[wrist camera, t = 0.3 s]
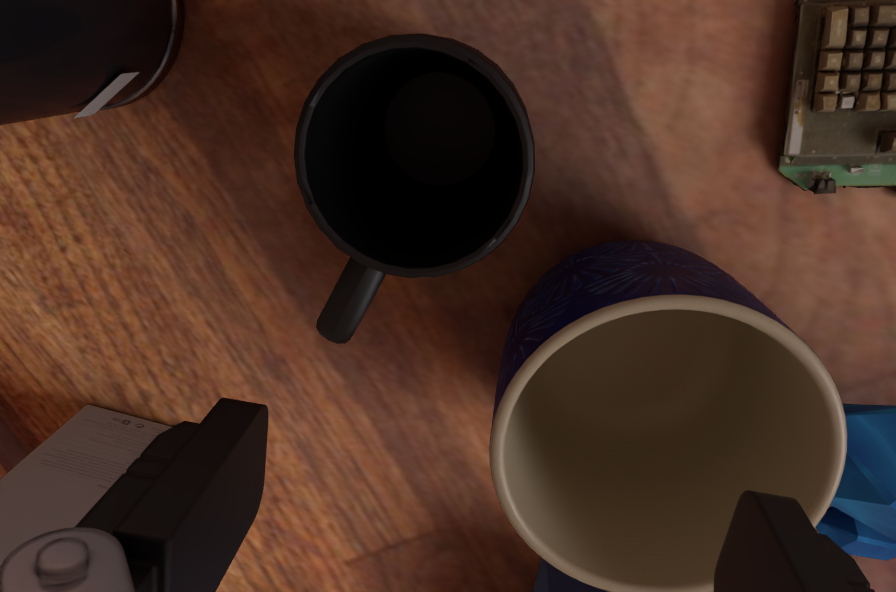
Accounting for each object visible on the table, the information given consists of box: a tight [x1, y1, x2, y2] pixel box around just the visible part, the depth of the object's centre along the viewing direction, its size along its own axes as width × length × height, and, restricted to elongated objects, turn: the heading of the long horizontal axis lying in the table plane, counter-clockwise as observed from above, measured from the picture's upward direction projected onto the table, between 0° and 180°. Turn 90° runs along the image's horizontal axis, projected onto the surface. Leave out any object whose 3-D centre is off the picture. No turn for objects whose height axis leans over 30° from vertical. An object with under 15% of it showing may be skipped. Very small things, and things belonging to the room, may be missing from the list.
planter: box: [489, 240, 847, 592], centre depth 31 cm, size 12×12×11 cm
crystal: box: [816, 404, 896, 560], centre depth 33 cm, size 7×9×12 cm
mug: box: [294, 34, 535, 344], centre depth 29 cm, size 8×12×10 cm
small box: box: [0, 405, 172, 565], centre depth 35 cm, size 8×6×13 cm
